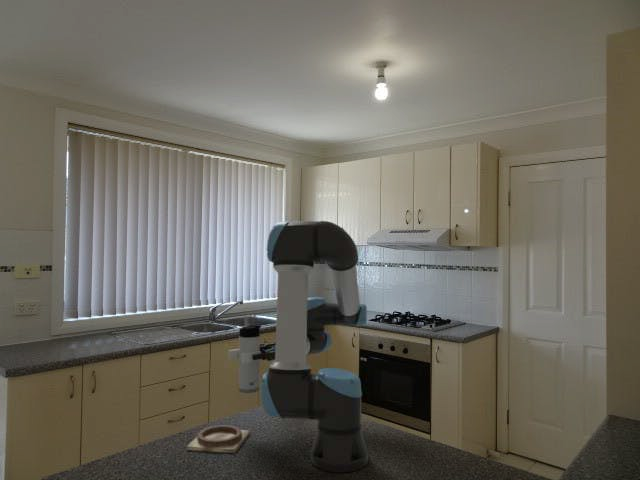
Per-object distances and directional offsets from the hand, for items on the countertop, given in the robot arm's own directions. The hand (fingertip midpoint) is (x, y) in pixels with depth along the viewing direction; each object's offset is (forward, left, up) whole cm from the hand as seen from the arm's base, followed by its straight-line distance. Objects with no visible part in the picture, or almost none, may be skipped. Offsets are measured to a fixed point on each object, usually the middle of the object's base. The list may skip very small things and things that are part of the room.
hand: (235, 356), depth 141 cm
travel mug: (-3, -4, -11) cm, 12 cm away
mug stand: (+4, +4, -24) cm, 25 cm away
